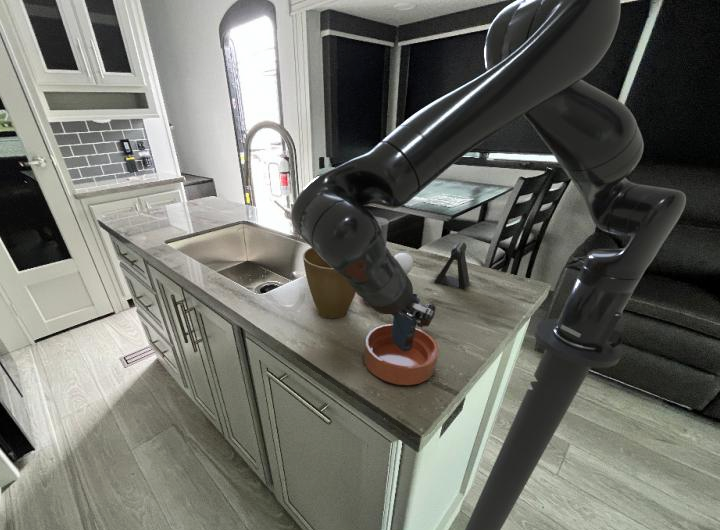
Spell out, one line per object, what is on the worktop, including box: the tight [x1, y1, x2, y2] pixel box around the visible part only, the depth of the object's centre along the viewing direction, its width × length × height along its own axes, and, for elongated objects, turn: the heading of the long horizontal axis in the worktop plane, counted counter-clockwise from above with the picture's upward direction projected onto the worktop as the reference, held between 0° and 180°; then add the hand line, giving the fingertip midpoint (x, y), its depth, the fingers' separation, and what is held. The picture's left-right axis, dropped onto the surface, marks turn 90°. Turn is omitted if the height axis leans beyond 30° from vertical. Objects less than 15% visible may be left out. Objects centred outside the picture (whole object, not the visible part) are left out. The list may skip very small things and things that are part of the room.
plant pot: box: [302, 246, 357, 320], centre depth 80 cm, size 15×15×16 cm
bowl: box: [363, 323, 440, 386], centre depth 66 cm, size 14×14×5 cm
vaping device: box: [391, 293, 421, 351], centre depth 61 cm, size 3×5×12 cm, turn 22°
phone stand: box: [434, 241, 470, 291], centre depth 95 cm, size 9×6×12 cm, turn 58°
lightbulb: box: [393, 252, 414, 276], centre depth 93 cm, size 6×6×11 cm
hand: (409, 316), depth 63 cm, fingers closed on vaping device, 5 cm apart
